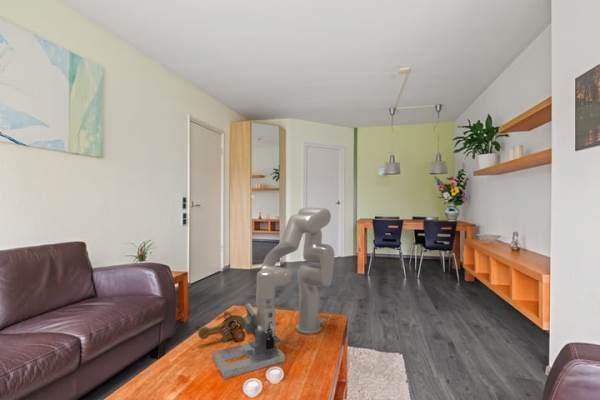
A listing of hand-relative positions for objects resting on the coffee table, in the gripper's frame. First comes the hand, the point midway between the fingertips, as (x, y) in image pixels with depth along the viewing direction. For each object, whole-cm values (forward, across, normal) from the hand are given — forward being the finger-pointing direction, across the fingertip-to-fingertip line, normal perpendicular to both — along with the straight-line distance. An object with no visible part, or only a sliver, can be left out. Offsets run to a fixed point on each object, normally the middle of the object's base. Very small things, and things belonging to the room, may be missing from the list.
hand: (265, 343), depth 120 cm
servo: (+2, 0, 0) cm, 2 cm away
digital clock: (+5, +26, -5) cm, 27 cm away
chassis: (+5, 0, +7) cm, 8 cm away
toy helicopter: (+5, +20, +11) cm, 23 cm away
